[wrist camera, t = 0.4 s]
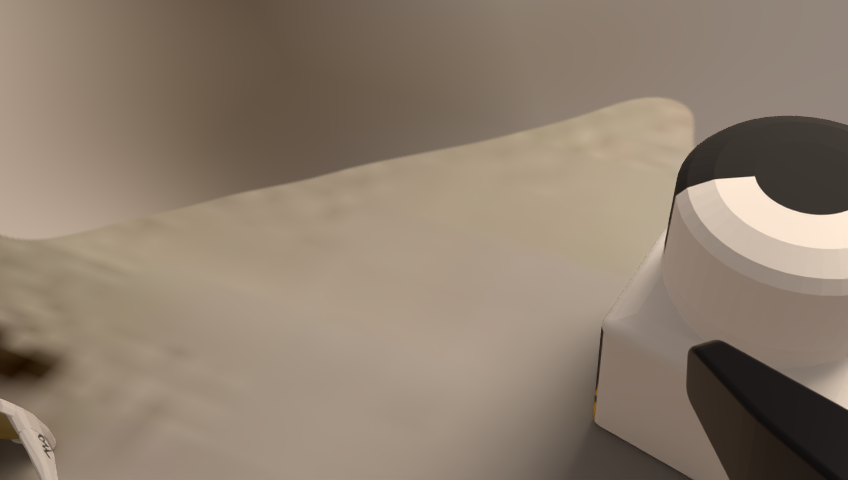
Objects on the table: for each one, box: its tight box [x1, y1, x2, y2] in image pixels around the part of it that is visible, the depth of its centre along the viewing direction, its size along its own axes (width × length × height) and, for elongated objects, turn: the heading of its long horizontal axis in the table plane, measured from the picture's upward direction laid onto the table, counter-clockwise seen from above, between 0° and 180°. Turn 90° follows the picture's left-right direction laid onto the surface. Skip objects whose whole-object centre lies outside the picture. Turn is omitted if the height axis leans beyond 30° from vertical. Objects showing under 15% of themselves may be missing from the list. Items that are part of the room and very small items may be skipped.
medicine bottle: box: [593, 116, 848, 480], centre depth 21 cm, size 7×7×12 cm
